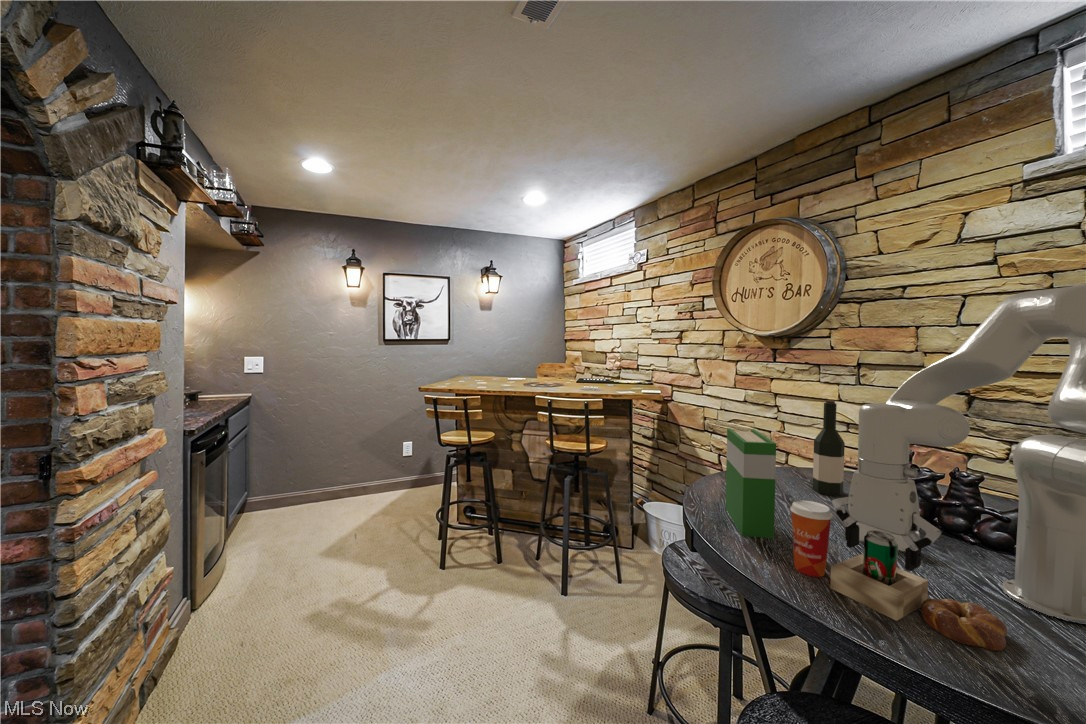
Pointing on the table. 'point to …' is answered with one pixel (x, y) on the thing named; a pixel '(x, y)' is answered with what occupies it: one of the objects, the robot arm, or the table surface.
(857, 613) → the table surface
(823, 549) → the paper cup
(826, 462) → the wine bottle
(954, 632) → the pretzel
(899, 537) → the white stepped block
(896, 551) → the soda can
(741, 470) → the hardback book
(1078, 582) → the robot arm
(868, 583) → the holder
